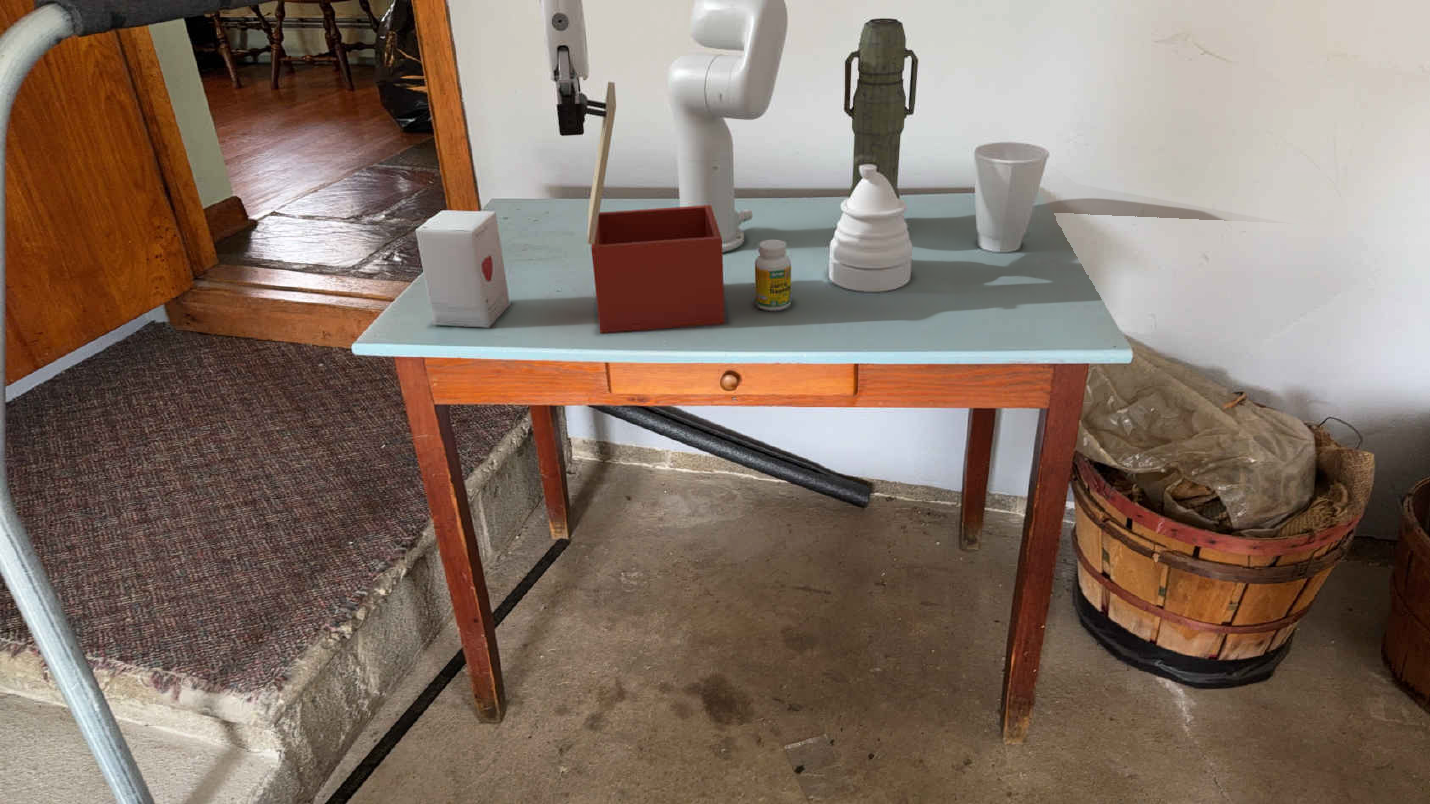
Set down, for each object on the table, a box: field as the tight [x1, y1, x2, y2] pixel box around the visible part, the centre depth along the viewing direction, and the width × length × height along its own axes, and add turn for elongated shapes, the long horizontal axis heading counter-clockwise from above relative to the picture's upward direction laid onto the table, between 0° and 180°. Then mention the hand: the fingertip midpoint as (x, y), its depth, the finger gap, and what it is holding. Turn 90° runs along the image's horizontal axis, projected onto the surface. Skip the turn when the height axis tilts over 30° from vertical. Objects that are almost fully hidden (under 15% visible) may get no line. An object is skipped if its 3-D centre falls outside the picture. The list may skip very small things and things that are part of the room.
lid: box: [574, 81, 617, 245], centre depth 128 cm, size 19×15×5 cm
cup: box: [972, 141, 1050, 253], centre depth 154 cm, size 12×12×16 cm
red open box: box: [590, 205, 726, 334], centre depth 137 cm, size 18×15×13 cm
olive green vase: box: [843, 17, 919, 200], centre depth 159 cm, size 9×12×35 cm
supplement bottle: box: [754, 239, 792, 312], centre depth 137 cm, size 5×5×10 cm
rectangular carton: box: [415, 209, 510, 329], centre depth 136 cm, size 9×9×15 cm
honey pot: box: [828, 164, 913, 293], centre depth 143 cm, size 13×13×18 cm
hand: (572, 127), depth 125 cm, fingers closed on lid, 6 cm apart
